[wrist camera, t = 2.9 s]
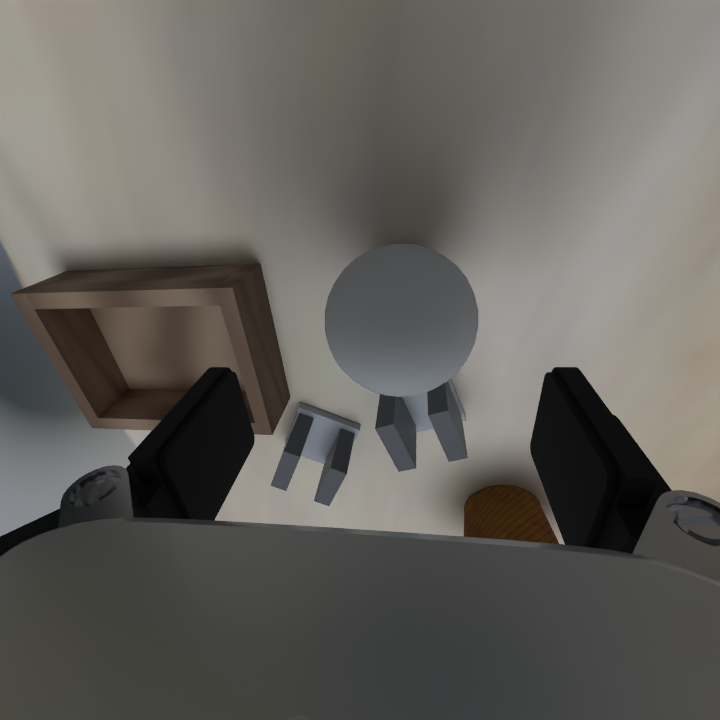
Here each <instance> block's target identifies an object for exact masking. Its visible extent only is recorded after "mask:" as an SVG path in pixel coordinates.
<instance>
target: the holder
mask: <svg viewBox="0 0 720 720" xmlns="http://www.w3.org/2000/svg"><path fill="white" fill-rule="evenodd" d="M11 295H12V297H13V299H14V301H15V302H16V304H17V305H18V307H19V309H20V310H21V312H22V313H23V315H24V317H25V318H26V320H27V322H28V324H29V325H30V327H31V328H32V330H33V332H34V333H35V335H36V337H37V338H38V340H39V342H40V343H41V345H42V346H43V348H44V350H45V351H46V353H47V355H48V356H49V358H50V359H51V361H52V363H53V365H54V366H55V368H56V370H57V371H58V373H59V374H60V376H61V378H62V379H63V381H64V383H65V384H66V386H67V388H68V389H69V391H70V393H71V394H72V395H73V397H74V399H75V401H76V402H77V404H78V406H79V407H80V409H81V411H82V412H83V414H84V416H85V417H86V419H87V421H88V422H89V424H90V425H91V427H92V428H104V429H131V430H153V429H154V428H155V427H156V426H157V425H158V424H159V423H160V421H161V420H162V419H163V418H164V417H165V416H166V415H167V414H168V413H169V411H170V410H171V409H172V408H173V407H174V406H175V405H176V404H177V403H178V402H179V400H180V399H181V398H182V397H183V396H184V395H185V394H186V393H187V392H188V390H189V389H190V388H191V387H192V386H193V385H194V384H195V383H196V382H197V380H198V379H199V378H200V377H201V376H202V375H203V374H204V373H205V372H206V371H207V369H209V368H210V367H228V368H230V369H231V371H232V372H235V373H236V374H237V377H238V381H239V384H240V388H241V391H242V395H243V398H244V401H245V405H246V408H247V412H248V415H249V419H250V422H251V426H252V429H253V433H254V434H262V435H273V432H274V430H275V428H276V426H277V424H278V422H279V420H280V418H281V416H282V414H283V412H284V410H285V407H286V405H287V403H288V401H289V399H290V395H289V391H288V386H287V382H286V377H285V373H284V368H283V364H282V359H281V355H280V350H279V346H278V341H277V337H276V332H275V328H274V323H273V319H272V314H271V310H270V305H269V301H268V296H267V292H266V287H265V283H264V278H263V274H262V269H261V265H260V264H244V265H218V266H192V267H165V268H139V269H113V270H87V271H66V272H63V273H61V274H58V275H56V276H53V277H51V278H48V279H46V280H44V281H41V282H39V283H36V284H34V285H31V286H29V287H26V288H24V289H21V290H19V291H16V292H14V293H12V294H11Z"/></svg>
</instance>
